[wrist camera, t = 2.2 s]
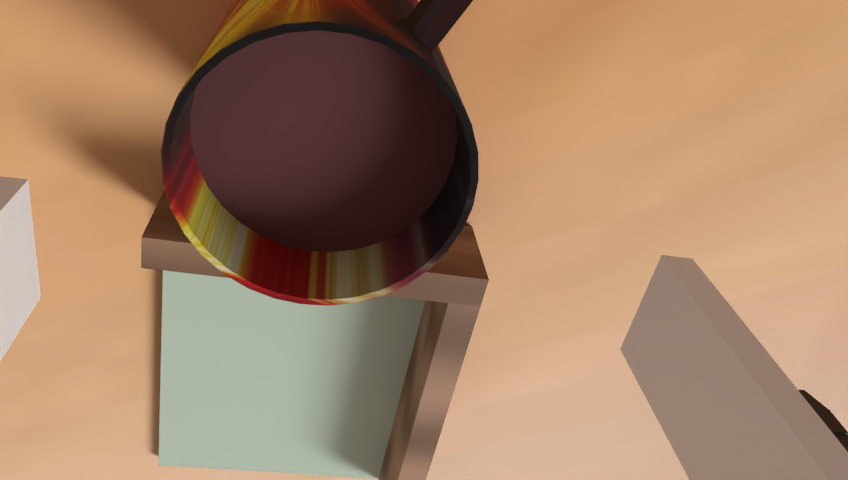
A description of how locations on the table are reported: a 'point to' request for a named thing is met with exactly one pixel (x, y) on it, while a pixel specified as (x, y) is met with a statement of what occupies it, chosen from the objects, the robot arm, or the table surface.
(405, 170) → the mug
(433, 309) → the walls
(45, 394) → the table surface
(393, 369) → the mat
